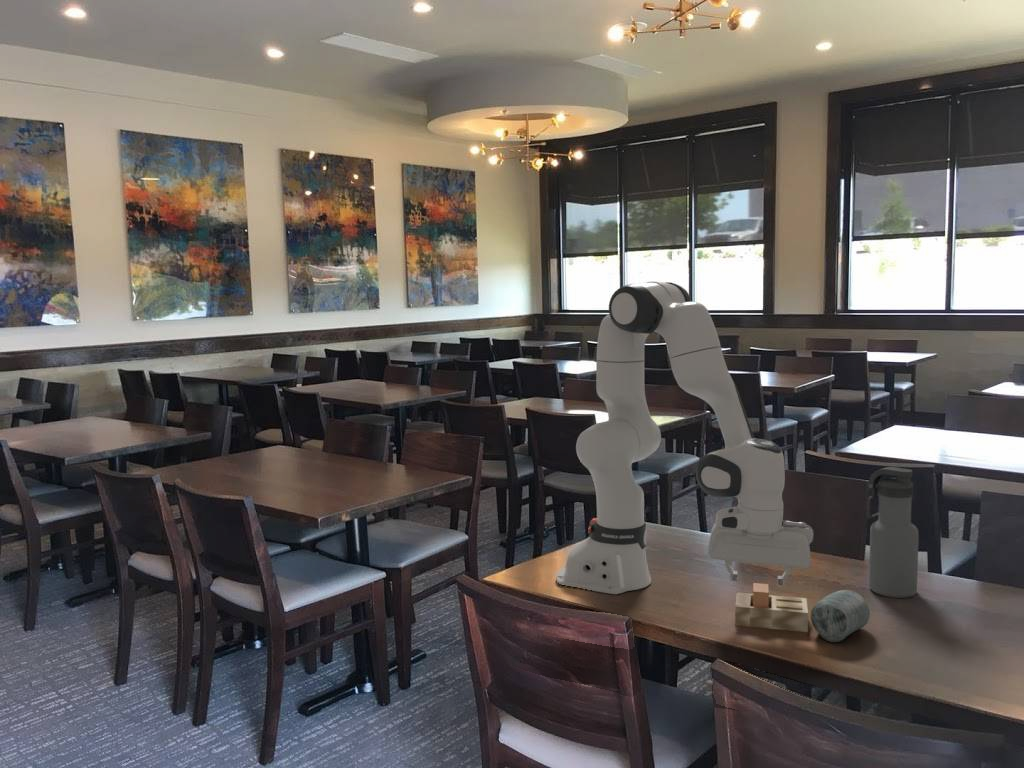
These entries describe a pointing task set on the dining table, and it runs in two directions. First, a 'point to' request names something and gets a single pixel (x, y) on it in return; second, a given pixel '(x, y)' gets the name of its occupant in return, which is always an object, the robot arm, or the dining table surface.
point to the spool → (839, 615)
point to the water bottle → (893, 535)
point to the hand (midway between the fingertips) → (757, 583)
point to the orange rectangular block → (760, 595)
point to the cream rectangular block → (772, 613)
